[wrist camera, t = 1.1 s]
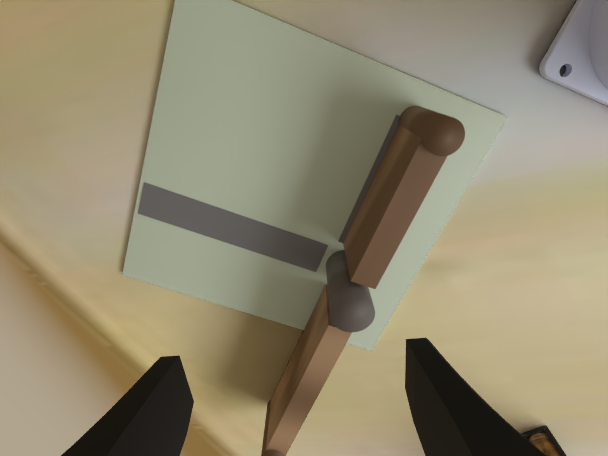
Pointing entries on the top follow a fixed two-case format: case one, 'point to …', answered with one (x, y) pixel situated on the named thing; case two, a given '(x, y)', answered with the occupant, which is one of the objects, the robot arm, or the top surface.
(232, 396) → the top surface
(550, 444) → the ammunition clip
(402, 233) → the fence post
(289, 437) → the fence gate
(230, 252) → the card
